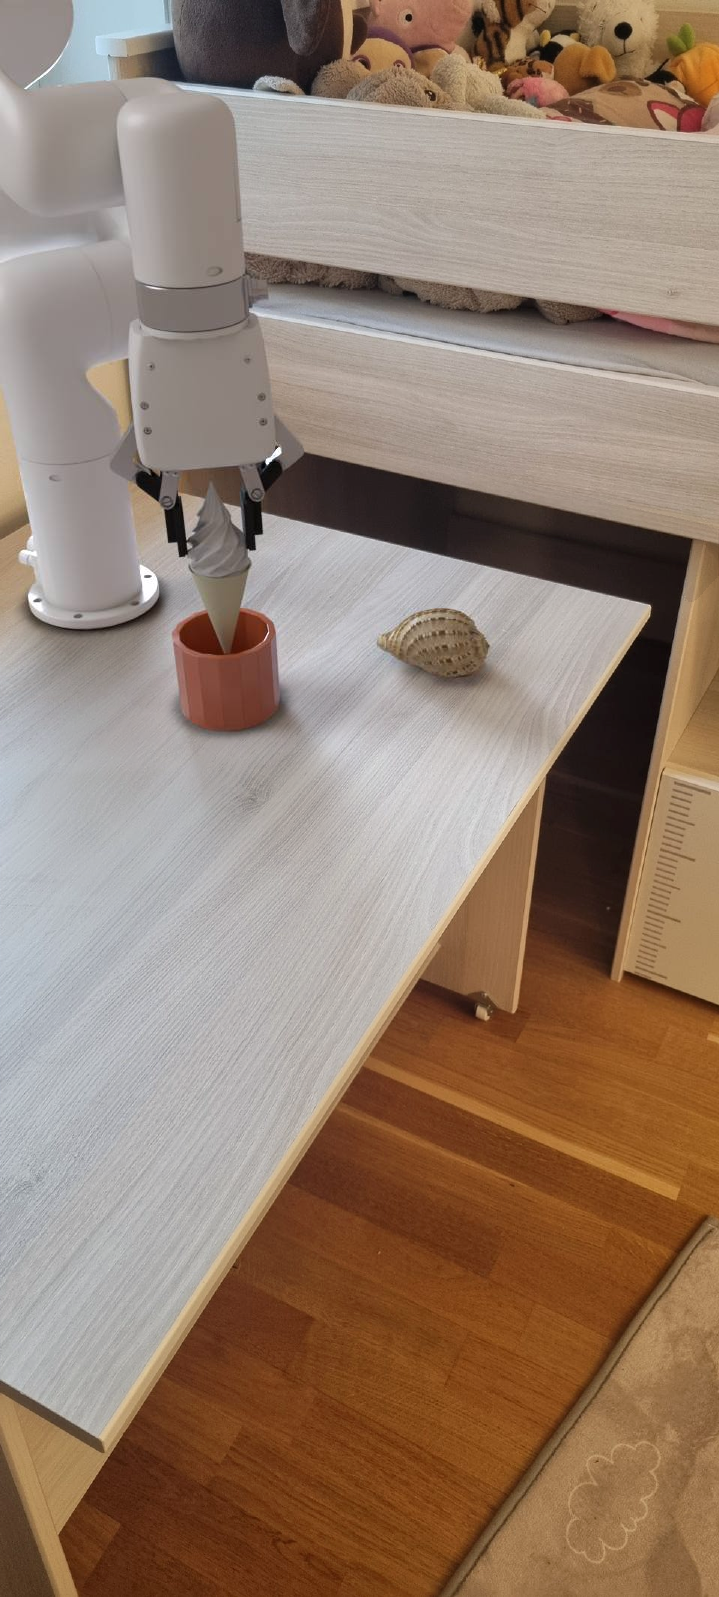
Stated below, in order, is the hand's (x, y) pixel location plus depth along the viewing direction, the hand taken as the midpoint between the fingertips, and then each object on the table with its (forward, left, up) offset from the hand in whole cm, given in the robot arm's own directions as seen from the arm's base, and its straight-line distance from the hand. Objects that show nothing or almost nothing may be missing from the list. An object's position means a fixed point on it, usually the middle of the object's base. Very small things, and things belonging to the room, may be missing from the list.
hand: (215, 544), depth 93 cm
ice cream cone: (0, 0, -10) cm, 10 cm away
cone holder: (0, 0, -15) cm, 15 cm away
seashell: (+11, +15, -15) cm, 24 cm away
